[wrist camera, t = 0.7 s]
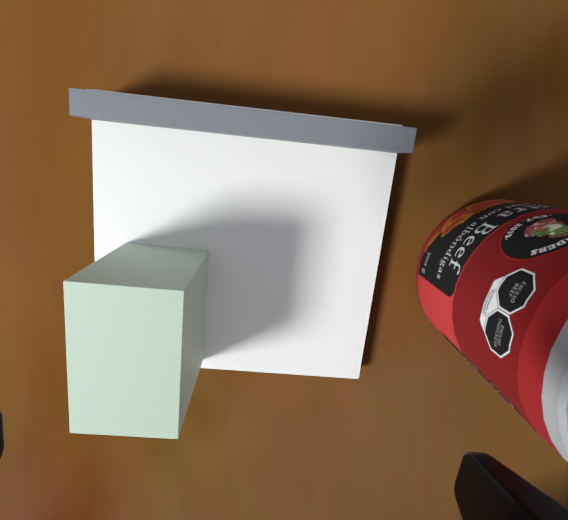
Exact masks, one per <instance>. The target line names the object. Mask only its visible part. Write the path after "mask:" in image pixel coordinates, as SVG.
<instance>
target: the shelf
mask: <svg viewBox="0 0 568 520" xmlns="http://www.w3.org/2000/svg"><path fill="white" fill-rule="evenodd" d="M69 105H70V115H71V116H76V117H81V118H86V119H91V120H92V152H93V200H94V247H95V261H97V260H99V259H100V258H102V257H104V256H105V255H107V254H108V253H110V252H112V251H113V250H115V249H117V248H118V247H120V246H121V245H123V244H125V243H135V244H146V245H157V246H169V247H180V248H191V249H202V250H209V261H208V278H207V296H206V314H205V332H204V350H203V361H202V364H201V367H200V368H210V369H224V370H239V371H253V372H267V373H282V374H296V375H310V376H325V377H339V378H353V379H359V373H360V367H361V362H362V356H363V350H364V344H365V338H366V332H367V327H368V321H369V315H370V309H371V303H372V297H373V292H374V286H375V280H376V274H377V268H378V262H379V257H380V251H381V245H382V239H383V233H384V227H385V222H386V216H387V210H388V204H389V198H390V192H391V187H392V181H393V175H394V169H395V163H396V157H397V153H413V148H414V142H415V137H416V131H417V128H412V127H403V126H402V125H398V124H390V123H381V122H372V121H364V120H355V119H346V118H337V117H329V116H320V115H311V114H303V113H294V112H285V111H277V110H268V109H259V108H251V107H242V106H233V105H225V104H216V103H207V102H198V101H190V100H181V99H172V98H164V97H155V96H146V95H138V94H129V93H120V92H112V91H103V90H94V89H87V90H81V89H72V88H69Z"/></svg>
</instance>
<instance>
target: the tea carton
mask: <svg viewBox="0 0 568 520" xmlns="http://www.w3.org/2000/svg"><path fill="white" fill-rule="evenodd" d="M208 261H209V250H202V249H191V248H180V247H169V246H157V245H146V244H135V243H125V244H123V245H121V246H120V247H118V248H117V249H115V250H113V251H112V252H110V253H108V254H107V255H105V256H104V257H102V258H100V259H99V260H97V261H95V262H94V263H92V264H90V265H89V266H87V267H86V268H84V269H82V270H81V271H79V272H77V273H76V274H74V275H72V276H71V277H69V278H68V279H66V280H64V281H63V284H64V307H65V331H66V354H67V377H68V401H69V424H70V433H82V434H99V435H116V436H134V437H151V438H169V439H178V437H179V434H180V431H181V427H182V424H183V421H184V418H185V415H186V412H187V408H188V405H189V402H190V399H191V396H192V393H193V390H194V386H195V383H196V380H197V377H198V374H199V371H200V367H201V364H202V361H203V350H204V332H205V314H206V296H207V278H208Z"/></svg>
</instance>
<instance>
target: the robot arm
mask: <svg viewBox="0 0 568 520" xmlns="http://www.w3.org/2000/svg"><path fill="white" fill-rule="evenodd" d="M3 449H4V432H3V415H2V412H1V410H0V458H1V456H2V453H3ZM454 491H455V497H456V501H457V504H458V507H459V510H460V513H461V516H462V519H463V520H568V509H567V508H565V507H564V506H562V505H561V504H559V503H558V502H557V501H555V500H554V499H552V498H551V497H549V496H548V495H546V494H545V493H544V492H542V491H541V490H539V489H538V488H536V487H535V486H533V485H532V484H531V483H529V482H528V481H526V480H525V479H523V478H522V477H520V476H519V475H518V474H516V473H515V472H513V471H512V470H510V469H509V468H507V467H506V466H505V465H503V464H502V463H500V462H499V461H497V460H496V459H494V458H493V457H492V456H490V455H488V454H486V453H478V452H467V453H465V455H464V456H463V458H462V462H461V465H460V468H459V471H458V475H457V478H456V481H455V487H454Z"/></svg>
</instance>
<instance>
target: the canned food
mask: <svg viewBox="0 0 568 520" xmlns="http://www.w3.org/2000/svg"><path fill="white" fill-rule="evenodd" d="M417 288H418V293H419V298H420V302H421V305H422V307H423V309H424V312H425V314H426V316H427V317H428V319H429V320H430V321H431V323H432V324H433V325H434V326H435V327H436V329H437V330H438V331H439V332H440V333H441V334H442V335H443V336H444V337H445V338H446V339H447V340H448V341H449V342H450V343H451V344H452V345H453V346H454V347H455V348H456V349H457V350H458V351H459V352H460V353H461V354H462V355H463V356H464V357H465V358H466V359H467V361H468V362H469V363H470V364H471V365H472V366H473V367H474V368H475V369H476V370H477V371H478V372H479V373H480V374H481V375H482V376H483V377H484V378H485V379H486V380H487V381H488V382H489V383H490V384H491V385H492V386H493V387H494V388H495V389H496V390H497V391H498V393H499V394H500V395H501V396H502V397H503V398H504V399H505V400H506V401H507V402H508V403H509V404H510V405H511V406H512V407H513V408H514V409H515V410H516V411H517V412H518V413H519V414H520V415H521V416H522V417H523V418H524V419H525V420H526V421H527V422H528V423H529V425H530V426H531V427H532V428H533V429H534V430H535V431H536V432H537V433H538V434H539V435H541V436H542V437H543V438H544V439H545V440H546V441H547V442H548V443H549V444H550V445H551V446H552V447H553V448H554V449H555V450H556V451H557V452H558V453H559V454H560V455H561V456H562V457H563V458H564V459H565V460H566V461H567V462H568V210H566V209H560V208H554V207H548V206H542V205H537V204H531V203H525V202H519V201H513V200H506V199H496V200H486V201H482V202H479V203H475V204H472V205H469V206H466V207H464V208H462V209H460V210H458V211H456V212H454V213H453V214H451V215H450V216H449V217H447V218H446V219H445V220H443V221H442V222H441V223H440V224H439V225H438V226H437V228H436V229H435V230H434V231H433V232H432V233H431V235H430V236H429V238H428V240H427V241H426V243H425V244H424V247H423V249H422V252H421V254H420V257H419V261H418V266H417Z"/></svg>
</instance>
